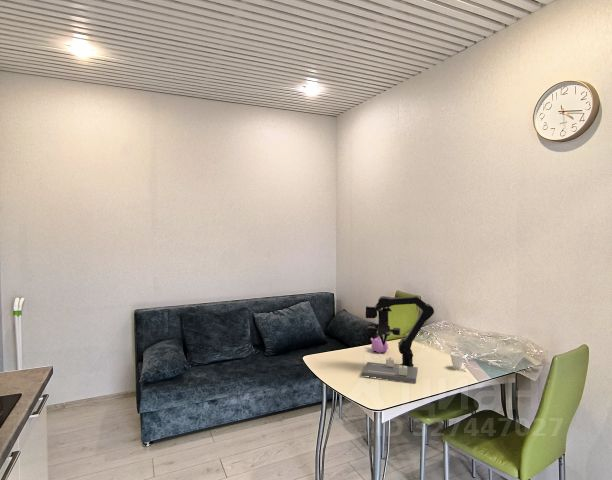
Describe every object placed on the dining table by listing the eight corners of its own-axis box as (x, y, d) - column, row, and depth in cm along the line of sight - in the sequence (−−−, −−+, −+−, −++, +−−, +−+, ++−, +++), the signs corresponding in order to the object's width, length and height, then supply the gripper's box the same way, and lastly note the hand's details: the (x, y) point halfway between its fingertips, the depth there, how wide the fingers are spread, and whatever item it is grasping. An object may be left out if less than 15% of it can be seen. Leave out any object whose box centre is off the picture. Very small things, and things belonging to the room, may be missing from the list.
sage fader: (399, 372, 196) (399, 365, 196) (407, 373, 194) (407, 365, 194) (398, 374, 193) (398, 367, 193) (406, 375, 192) (406, 368, 191)
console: (367, 366, 214) (367, 361, 213) (417, 371, 204) (417, 367, 204) (361, 376, 199) (361, 372, 198) (415, 383, 189) (415, 378, 189)
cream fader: (386, 364, 208) (386, 357, 208) (394, 365, 207) (394, 357, 207) (386, 366, 205) (386, 359, 205) (393, 367, 204) (393, 359, 204)
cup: (454, 364, 213) (454, 351, 213) (471, 369, 205) (471, 355, 205) (448, 367, 209) (447, 353, 208) (464, 373, 201) (464, 358, 200)
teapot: (381, 355, 230) (381, 341, 230) (365, 349, 243) (364, 335, 243) (393, 352, 236) (392, 338, 236) (376, 346, 249) (376, 332, 248)
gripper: (364, 320, 209) (365, 348, 210) (398, 323, 203) (398, 351, 203) (368, 316, 220) (368, 342, 220) (400, 318, 213) (400, 344, 214)
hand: (383, 345), depth 214 cm, fingers closed
